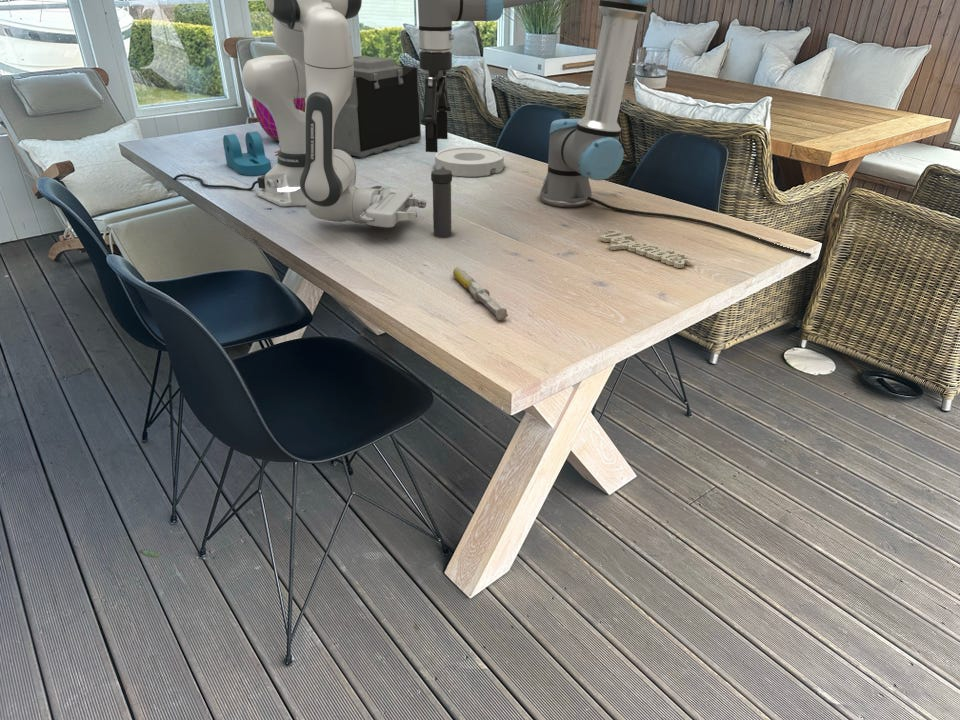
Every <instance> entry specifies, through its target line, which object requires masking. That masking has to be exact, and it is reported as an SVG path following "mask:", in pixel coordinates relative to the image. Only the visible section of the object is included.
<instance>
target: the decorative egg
mask: <svg viewBox="0 0 960 720" xmlns="http://www.w3.org/2000/svg"><path fill="white" fill-rule="evenodd" d="M274 55H275V54H268V55H267V56H274ZM251 101H252V107H253V110H254V114H255V116H256V118H257V121H258V123H259V125H260V127H261V128H262V130H263V131H264V133H266V135H267V136H268V137H270V138H271V139H273V140H275V141H279V138H278V133H277V129H276V125H275V122H274V119H273V117H272V115H271V114H270V112H269V111H268V110H267V108H266V107H265V106H264V105H263V104H262V103H260V102H259V101H258V100H256V99H254V98H253V97H252V96H251ZM294 105H295V107H296V109H298V110H301V111H303V112H305V113H306V98H296V99H294Z"/></svg>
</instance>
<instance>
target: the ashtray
mask: <svg viewBox="0 0 960 720" xmlns="http://www.w3.org/2000/svg"><path fill="white" fill-rule="evenodd" d="M504 157H505V156H504V154H503V152H501V151H498V150H495V149H492V148H486V147H473V146H459V147H450V148H445V149H442V150H439V151H438V152H435V154H434V162H435V163H434V165H435V166H434V167H435V170H438V169H445V170H450V171H451V172H452V177H464V178H465V177H467V178H468V177H469V178H471V177H472V178H473V177H477V178H478V177H487V176H491V174H499V173H501V172H502V171H504V163H505V162H504V161H505V160H504V159H505V158H504Z"/></svg>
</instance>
